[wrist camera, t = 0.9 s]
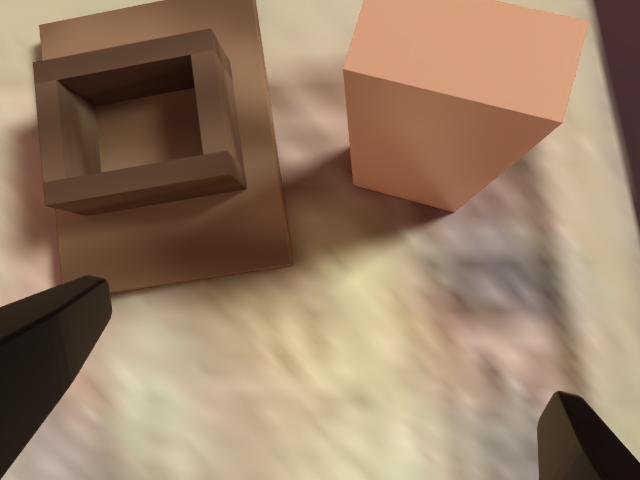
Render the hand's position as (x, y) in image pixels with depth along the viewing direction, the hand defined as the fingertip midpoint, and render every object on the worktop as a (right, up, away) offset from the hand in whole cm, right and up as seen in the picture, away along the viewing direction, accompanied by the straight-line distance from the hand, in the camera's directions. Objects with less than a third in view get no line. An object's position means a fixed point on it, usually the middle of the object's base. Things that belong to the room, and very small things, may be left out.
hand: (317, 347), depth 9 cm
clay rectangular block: (+4, +5, +14) cm, 15 cm away
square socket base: (-8, +7, +15) cm, 18 cm away
